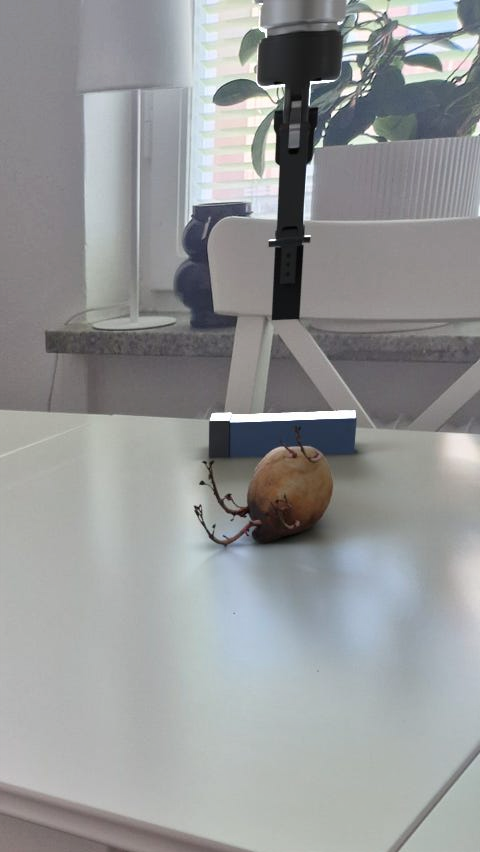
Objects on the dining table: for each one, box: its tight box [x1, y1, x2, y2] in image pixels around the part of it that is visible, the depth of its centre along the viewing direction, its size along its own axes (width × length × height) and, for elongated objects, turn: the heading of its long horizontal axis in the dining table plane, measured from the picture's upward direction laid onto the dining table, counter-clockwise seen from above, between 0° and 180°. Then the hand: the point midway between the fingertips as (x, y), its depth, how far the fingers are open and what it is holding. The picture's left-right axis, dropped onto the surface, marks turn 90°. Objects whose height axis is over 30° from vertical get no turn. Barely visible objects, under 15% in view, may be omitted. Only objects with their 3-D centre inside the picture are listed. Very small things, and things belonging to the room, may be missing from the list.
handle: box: [208, 410, 358, 459], centre depth 115 cm, size 14×4×4 cm, turn 77°
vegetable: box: [193, 425, 334, 548], centre depth 93 cm, size 16×11×10 cm
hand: (285, 318), depth 116 cm, fingers closed
